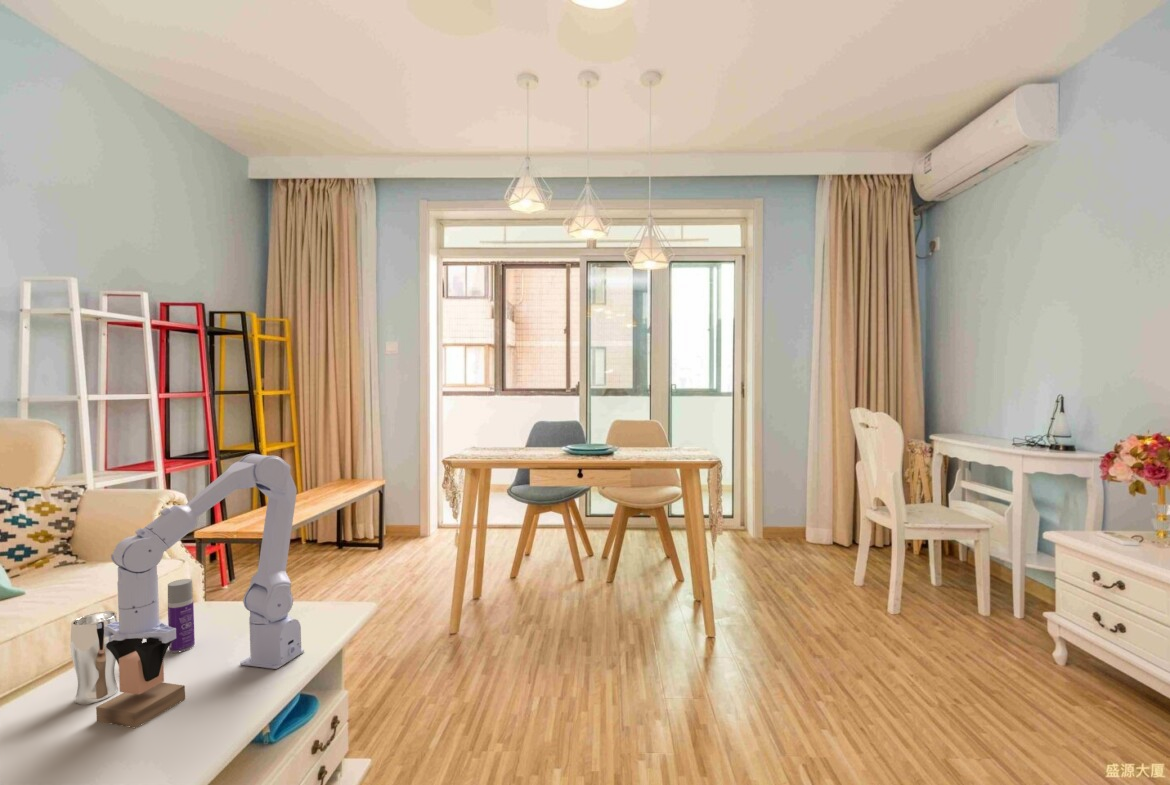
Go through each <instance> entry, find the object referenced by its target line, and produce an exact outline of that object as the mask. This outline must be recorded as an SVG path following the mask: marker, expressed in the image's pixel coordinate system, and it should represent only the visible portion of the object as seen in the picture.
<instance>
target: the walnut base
mask: <svg viewBox="0 0 1170 785" xmlns="http://www.w3.org/2000/svg"><path fill="white" fill-rule="evenodd" d="M184 699H185V700H186V686H185V685H184V684H183V685H182V684H178V683H177V684H176V683H170V682H162V683H160V684H158V685H156V686H154V687H152V688H150V689H149V690H147V691H145V692H143V693H141V694H132V693H125V692H121V693H120V694H119V695H117V696H115V697H112V698H111V699H109V700H107V701H105V702H103V703H101V704H99V705H96V707H95V708H96V712H95V713H96V722H97V723H103V722H104V724H109V723H112V724H111V725H114V724H117V725H116V726H120V725H123V726H122V727H126V726H130V727H129V728H132V727H135V728H134V729H137V728H138V727H140V726H142V725H143V723H144V724H146V723H148V722H149V721H151V720H153V719H154V718H156V717H157V716H159V715H161V714H162V713H164V712H166V711H168V710H169V709H170V707H171V708H172V706H173V707H175V706H176V705H177V703H178V704H180V703H181V702H183V701H184ZM180 701H181V702H180ZM179 702H180V703H179ZM175 704H176V705H175ZM167 709H168V710H167ZM165 710H166V711H165ZM141 724H142V725H141ZM136 727H137V728H136Z"/></svg>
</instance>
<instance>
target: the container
mask: <svg viewBox="0 0 1170 785" xmlns="http://www.w3.org/2000/svg"><path fill="white" fill-rule="evenodd" d="M193 592H194V591H193V580H192V579H191V578H182V579H177V580H173V581H171V582H169V583H167V624H168V625H167V626H169V627H172V628H176V639H174V640H172V642H171V643H170V645H169V647H168V652H169V651H170V652H169V653H171V652H179V651H184V650H187V651H189V650H191V649H193V648H195V646H196V645H195V644H196V643H195V613H194V612H195V611H194V610H195V609H194V608H195V607H194V593H193ZM194 645H195V646H194ZM192 647H193V648H192ZM190 648H191V649H190ZM188 649H189V650H188ZM184 652H185V651H184ZM179 653H180V652H179Z"/></svg>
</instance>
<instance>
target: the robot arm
mask: <svg viewBox="0 0 1170 785" xmlns="http://www.w3.org/2000/svg"><path fill="white" fill-rule="evenodd" d="M291 467H292V466H291V465H290V464H289V463H288V462H286V461H285V460H284V459H283V458H282V457H279V456H277V455H263V454H258V453H249V454H246V455H243V457H241V458H240V460H239V461H236V462H234V463H232V464H231V465H230V466H229V467H228V468H227V469H226V470H225V471H224V472H223V473H222V474H220V475H219V476H218V477H217V478H215V479H214V480H213V481H212V482H211V483H209V484H208V485H207V486H206V487H205V488H204V489H203V490H201V491H200V492H199V493H197V494H196V495H195V496H194V497H193V498H192V499H190V500H189V501H188V502H187V503H186V504H182V505H181V504H177V505H172V506H171V507H170V508H169V507H165V508H163V509H161V510H160V512H159V514H160V515H159V516H158V517H157V518H155V519H154V520H152V521H151V522H150V523H148V524H147V525H146V526H145V527H143V528H141V527H139V528H137V530H135V534H136V535H131V536H127V537H126V538H123V539H122V540H120V541H119V542H118V543H117V544H116V546H115V549H113V553H112V554H111V555H110V559H111V561H112V563H114V564H115V566H117V583H116V584H117V606H118V607H117V609H118V622H113V623H110V624H108V625H105V626H104V636H106V637H109V636H111V635H114V636H113V641H110V642H108V643H107V644H106V648H107V649H109V650H110V652H111V653H112V654H113V655H114V657H115V659H116V663H117V665H118V666H119V658H121V657H123V656H125V655H128V654H130V653H132V652H134V651H136V652H137V653H138V655H139V657H140V660H141V663H142V670H143V676H144V679H145V681H147V682H148V681H150V680H152V679H154V678H156V677H158V676H159V673H160V669H161V665H162V662H163V663H164V658H165V655H166V652H167V651H168V650H169V645H170V643H171V642H172V640H174V639H176V628H172V627H169V626H168V625H167V624H166V623H164V622H162V621H160V605H159V604H160V603H159V602H160V601H159V578H158V565H159V564H160V562H161V561H162V559H163V555H164V553H165V552H167V551H168V550H169V549H170V548H172V547H173V546H174V545H175V544H177V542H179V541H181V540H182V539H183V538H184V537H185V536H187V534H189V533H190V532H191V531H193V530H194V529H195V528H196V527H197V526H198V523H199V522H198V521H199V517H201V516H202V515H203V514H205V513H206V512H207V511H210V509H211V508H213V507H215V506H216V505H217V504H219V503H220V502H221V501H222V500H224V499H225V498H227V497H229V495H231V494H233V493H234V492H236V491H237V490H242V489H243V490H245V489H251V488H252V489H253V488H257V489H258V490H259V491H260V492H261V493H262V494H263V495H264V496H266V497H267V505H266V511H265V518H264V525H263V532H262V540H261V545H260V546H261V547H260V553H259V559H258V560H259V561H258V567H257V571H256V573H254V575H252V577H251V578H250V584H249V587H248V588H247V590H246V591H245V593H244V595H243V599H242V603H243V605H244V608H245V609H246V610H247V611H249V617H248V618H249V619H248V620H249V646H250V647H249V648H250V649H249V650H250V656H249V657H246V658H245V659H244V660H242V661H240V662H239V663H240V665H241V666H248V667H256V668H265V669H274V670H276V669H279V668H281V667H283V666H284V665H285V664H287V663H289V662H291V661H292V660H293V659H295V658H296V657H298V656H300V655H301V654H302V653H305V649H304V648H302V629H301V628H302V627H301V623H300V621H299V620H298V619H296V618H293V617H291V616H290V615H289V612H290V611H291V610H292V608H293V605H294V597H293V594H292V588H291V587H292V582H291V578H290V577H289V575H288V573H287V566H288V557H289V552H290V551H289V550H290V549H289V548H290V543H291V536H292V529H293V522H294V514H295V507H296V501H297V500H296V499H297V486H296V484H295V481H294V479H293V477H292V474H291ZM144 640H145V641H144Z"/></svg>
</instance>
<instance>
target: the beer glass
mask: <svg viewBox="0 0 1170 785" xmlns="http://www.w3.org/2000/svg"><path fill="white" fill-rule="evenodd" d="M113 622H119V620H118V614H117V612H116V611H112V610H111V611H109V610H108V611H99V612H94V613H89V614H86V615H84V616H81V617H78V618H76V619H74V620H73V621H72V622H71V623H70V627H71V628H70V638H69V640H70V641H69V643H70V648H69V649H70V655H71V659H72V664H73V666H74V671H75V674H76V678H77V691H76V695H75V703H76V704H77V705H83V706H84V705H91V704H95V703H98V702H102V701H104V700H106V699H109V698H110V697H112V696H114V695H115V694H116V693H117V692H118V690H119V687H118V684H117V680H116V674H115V670H116V667H115V666H116V663H117V660H116V659H115V657H114V655H113V654H112V653H111V652H110V650H109V649H107V648H106V644H107V643H108V642H110V641H113V636H114V635H111V636H109V637H106V636H104V626H105V625H108V624H110V623H113Z"/></svg>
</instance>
